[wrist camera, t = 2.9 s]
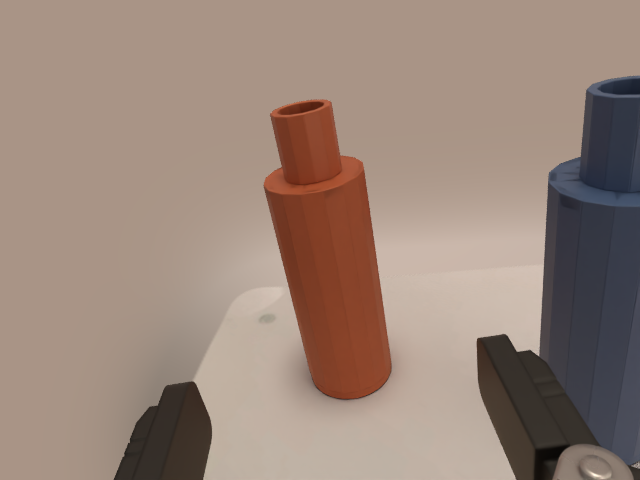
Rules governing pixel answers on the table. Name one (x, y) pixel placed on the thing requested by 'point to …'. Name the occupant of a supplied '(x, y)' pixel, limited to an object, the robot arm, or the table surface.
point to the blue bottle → (598, 269)
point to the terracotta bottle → (328, 252)
